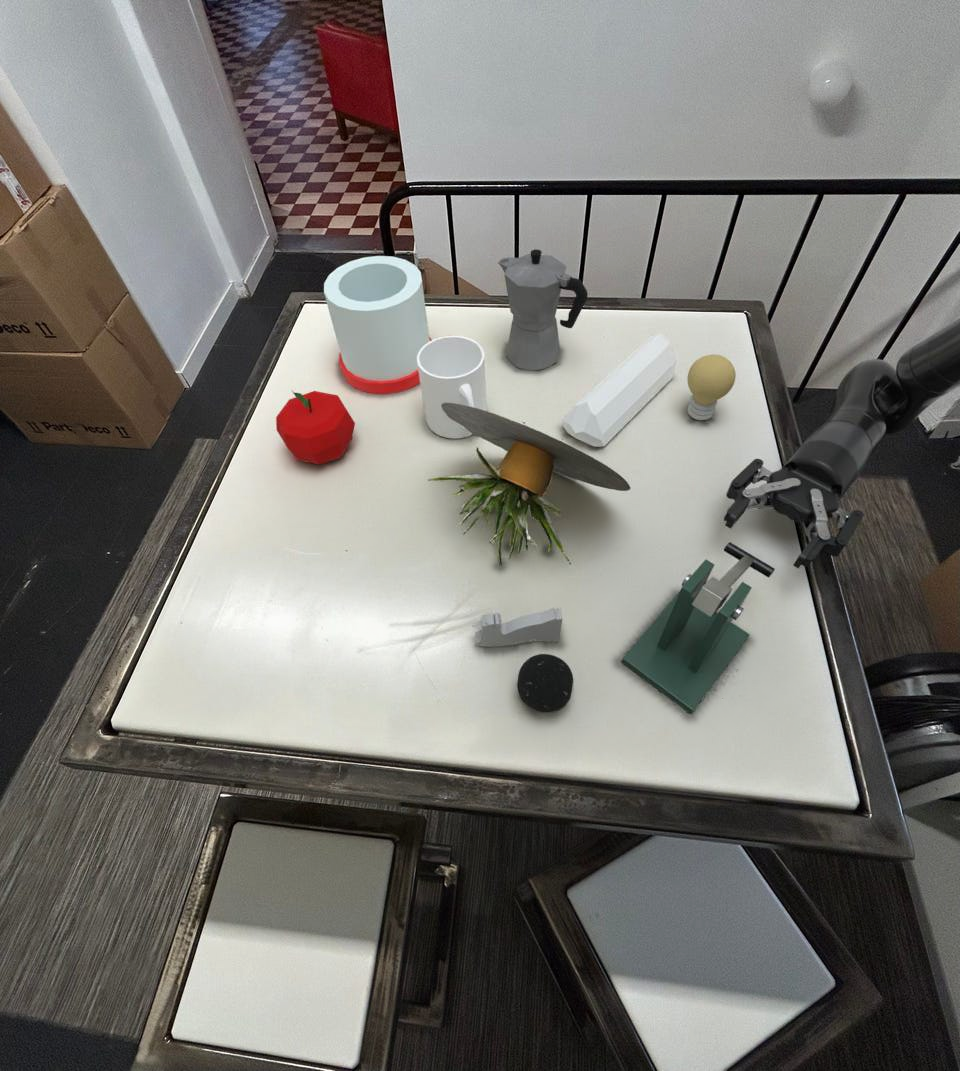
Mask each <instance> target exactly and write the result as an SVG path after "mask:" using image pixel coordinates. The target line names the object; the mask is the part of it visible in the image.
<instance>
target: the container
mask: <svg viewBox="0 0 960 1071" xmlns="http://www.w3.org/2000/svg"><path fill="white" fill-rule="evenodd" d="M323 294H324V298H325V301H326V305H327V309H328V312H329V316H330V318H331V319H330V320H331V323H332V324H331V325H332V327H333V331H334V334H335V338H336V342H337V345H338V349H339V353H338V363H339V367H340V371H341V374H342V375H343V377H344V379H345V381H346V382H347V383H348V384H349V385H351V386H352V387H353V388H354V389H356V390H360V391H362V392H365V393H368V394H377V395H378V394H379V395H387V394H394V393H400V392H404V391H406V390H409V389H412V388H415V387H416V386H418V385H420V379H419V372H418V365H417V355H418V353H419V350H420V349H421V348H422V347H423V346H424V345H425V344H427V343H428V342H430V341H432V340H433V339H432V338H431V337H430V332H429V325H428V317H427V309H426V302H425V293H424V287H423V279H422V272H421V271H420V269H419V268H418V267H417V265H415V264H414V263H412V262H410V261H408V260H407V259H404V258H401V257H396V256H391V255H390V256H388V255H375V256H366V257H361V258H358V259H354V260H350V261H348V262H346V263H344V264H342V265H340V266H338V267H336V268H335V269H334V270H333V271H332V272H331V273H330V274H328V276H327V278H326V280H325V281H324V282H323Z"/></svg>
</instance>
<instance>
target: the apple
mask: <svg viewBox="0 0 960 1071" xmlns="http://www.w3.org/2000/svg"><path fill="white" fill-rule="evenodd" d="M291 392H292V394H293V396H294V397H292V398H289V399H288V400H287V402H286V403H285V404H284V405H283V407H282V409H281V410H280V412H279V413H278V414H277V415H276V416H275V425H276V427H275V428H276V429H275V430H276V432H277V433H278V435H279V437H280V439H281V441H283V443H284V445H285V447H286V448H287V449H288V451H290V453H291V454H292V456H294V458H295V459H296V460H297V461H301V462H305V463H306V462H307V463H310V464H316V465H322V464H324V463H328V462H331V461H334V460H337V459H339V458H341V457H342V456H343V455H344V453H345V451H346V450H347V448H348V447H349V445H350V443H351V442H352V440H353V436H354V431H355V427H356V426H355V425H356V423H355V421H354V419H353V418H352V416H351V414H350V413H349V411H348V409H347V408H346V406H345V404H344V403H343V402H342V400H341V398H340V396H339V395H338V394H333V393H328V392H322V391H317V390H313V391H309V392H307V393H304V394H302V393H300V392H294V391H293V390H291Z"/></svg>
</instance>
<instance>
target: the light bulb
mask: <svg viewBox="0 0 960 1071" xmlns="http://www.w3.org/2000/svg"><path fill="white" fill-rule="evenodd" d="M686 378H687V386H688V390H689V391H690V393H691V395H690V400H689V402H688V406H687V413H688V415H689V416H690V417H691V418H692V419H694V420H697V421H706V420H709V419H710V418H712V416H714V412H715V410H716V406H717V403H718V400H720V399H722V398H724V397H725V396H726V395H728V393H730V392H731V390H732V388H733V386H734V384H735V382H736V369H735V367H734V365H733V363H732V362H731V361H730V360H729V359H728V358H727V357H725V356H723V355H721V354H715V353H714V354H707V355H703V356H701V357H699V358H698V359H696V360H695V361H694V362H692V364H691V366H690V368H689V369H688V373H687V376H686Z"/></svg>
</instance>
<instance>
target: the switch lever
mask: <svg viewBox="0 0 960 1071" xmlns="http://www.w3.org/2000/svg"><path fill="white" fill-rule="evenodd" d="M723 552H725V553H726V554H728V555H730V556H732V557H733V558H735V559H736V560H738V561H737V562H736V563H735V564H734V565H733V566H732V567H731V568H730V569H729V570H728V571H727V572H726V573H725V574H724V575H723V576H722V577H721V578H719V579H718V578H716V577H714V576H712V577H710V578H709V579H708V580H707V582H706V584H704V585H703V586H702V588H701V589H700V591H699V593H698V594H697V596H696V598H695V599H694V601H693V603H692V605H693V606H694V607H696V608H697V609H699V610H700V611H702V612H703V613H705V614H707V615H708V616H710V617H712V616H713V615H714V614H715V613H718V612H719V611H720V609H721V608H722V607H723V606H724V604H725V603H726V601H727V600H728V597H729V595H731V592H732V591H733V588H732V586H734V584H735V583H736V582H737V581H738V580H740V578H741V577H742V576H743V575H744V574H745V573H746V572H747V570H748V569H750V568H751V569H753V570H755V571H756V572H758V573H759V574H762V575H763V576H764V577H766V578H770V577H771V576H772V574H774V572H775V570H776V568H775V567H773V566H771V565H769V564H768V563H767V562H765V561H763V560H762V559H759V558H758V557H756V556H755V555H753V554H751V553H750V552H748V551H746V550H744V549H742V548H741V547H739V546H737V545H736V544H734V543H732V542H730V541H729V542H727V544H726V545H725V547H724V549H723Z"/></svg>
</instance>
